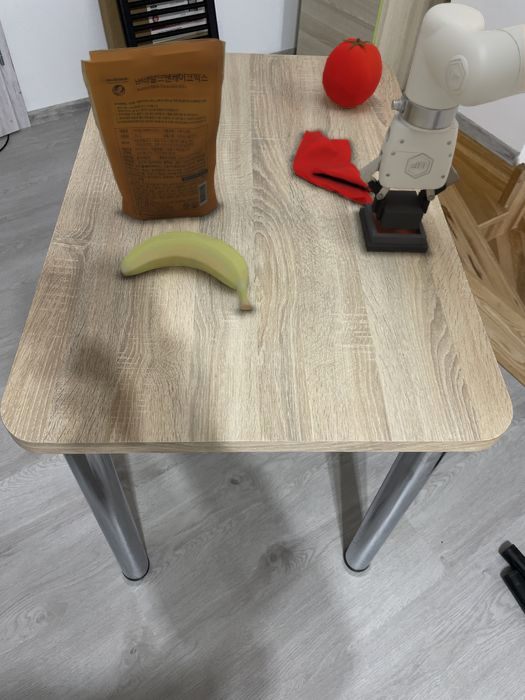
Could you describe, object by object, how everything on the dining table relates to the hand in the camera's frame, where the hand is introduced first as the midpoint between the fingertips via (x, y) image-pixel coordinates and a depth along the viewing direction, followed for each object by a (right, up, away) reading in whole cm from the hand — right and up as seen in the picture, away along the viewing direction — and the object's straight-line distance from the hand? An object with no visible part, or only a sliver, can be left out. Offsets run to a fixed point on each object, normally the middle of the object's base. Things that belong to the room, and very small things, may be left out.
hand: (397, 214), depth 88 cm
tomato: (-4, +31, +29) cm, 43 cm away
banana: (-32, -12, -6) cm, 35 cm away
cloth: (-10, +12, +14) cm, 21 cm away
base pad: (0, -2, +3) cm, 4 cm away
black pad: (0, 0, 0) cm, 1 cm away
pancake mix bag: (-38, +1, +4) cm, 38 cm away
